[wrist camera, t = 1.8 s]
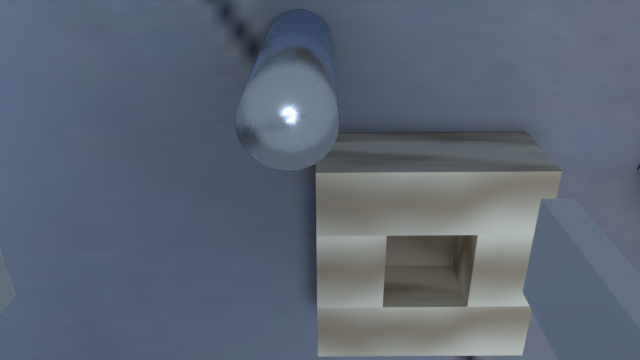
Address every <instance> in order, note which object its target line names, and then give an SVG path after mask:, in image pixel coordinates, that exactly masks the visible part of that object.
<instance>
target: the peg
mask: <svg viewBox="0 0 640 360" xmlns="http://www.w3.org/2000/svg"><path fill="white" fill-rule="evenodd" d="M236 131H237V134H238V137H239V140H240V142H241V144H242V146H243V147H244V149H245V150H246V151H247V152H248V154H249V155H250V156H251V157H253V158H254V159H255V160H256V161H258V162H259V163H261V164H263V165H265V166H267V167H269V168H273V169H276V170H282V171H296V170H301V169H305V168H308V167H310V166H312V165H314V164H316V163H317V162H319V161H320V160H322V159H323V158H324V157H325V156H326V155H327V154H328V153H329V151H330V150H331V149H332V147H333V145H334V143H335V141H336V138H337V135H338V131H339V116H338V105H337V95H336V84H335V73H334V63H333V52H332V42H331V35H330V32H329V29H328V27H327V25H326V24H325V22H324V21H323V20H322V19H321V18H320V17H319V16H317V15H316V14H314V13H312V12H310V11H307V10H300V9H297V10H290V11H287V12H285V13H283V14H281V15H280V16H278V17H277V18H276V19H275V20H274V22H273V23H272V24H271V26H270V28H269V31H268V33H267V36H266V38H265V40H264V43H263V45H262V48H261V50H260V53H259V55H258V58H257V60H256V63H255V65H254V68H253V70H252V73H251V75H250V78H249V80H248V82H247V85H246V87H245V90H244V92H243V95H242V97H241V100H240V102H239V105H238V108H237V111H236Z"/></svg>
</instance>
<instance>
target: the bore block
mask: <svg viewBox="0 0 640 360" xmlns="http://www.w3.org/2000/svg"><path fill="white" fill-rule="evenodd" d="M561 175H562V171H561V169H560V168H559V167H558V166H557V165H556V164H555V163H554V162H553V161H552V160H551V159H550V157H549V156H548V155H547V154H546V153H545V152H544V151H543V150H542V149H541V148H540V147H539V145H538V144H537V143H536V142H535V141H534V140H533V139H532V138H531V137H530V136H529V135H528V133H527V132H449V133H338V135H337V138H336V141H335V143H334V145H333V147H332V149H331V150H330V151H329V153H328V154H327V155H326V156H325V157H324V158H323V159H322V160H320V161H319V162H317V163H316V243H317V334H318V357H319V356H481V355H522V354H523V349H524V345H525V340H526V336H527V331H528V326H529V322H530V317H531V313H532V310H531V308H530V306H529V304H528V302H527V300H526V298H525V296H524V294H523V287H524V282H525V277H526V272H527V267H528V262H529V257H530V252H531V247H532V242H533V237H534V232H535V227H536V222H537V217H538V212H539V207H540V203H541V199H556V198H557V193H558V188H559V184H560V179H561Z"/></svg>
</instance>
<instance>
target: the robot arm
mask: <svg viewBox="0 0 640 360" xmlns="http://www.w3.org/2000/svg"><path fill="white" fill-rule="evenodd" d="M523 294H524V296H525V298H526V300H527V302H528V304H529V306H530V308H531V310H532V311H533V313H534V315H535V317H536V319H537V321H538V323H539V325H540V327H541V329H542V331H543V333H544V334H545V336H546V338H547V340H548V342H549V344H550V346H551V348H552V350H553V352H554V354H555V356H556V357H557V359H558V360H640V275H639V273H638V272H637V271H636V270H635V269H634V268H633V266H632V265H631V264H630V263H629V262H628V261H627V259H626V258H625V257H624V256H623V255H622V254H621V253H620V251H619V250H618V249H617V248H616V247H615V246H614V244H613V243H612V242H611V241H610V240H609V239H608V237H607V236H606V235H605V234H604V233H603V232H602V231H601V229H600V228H599V227H598V226H597V225H596V224H595V222H594V221H593V220H592V219H591V218H590V217H589V215H588V214H587V213H586V212H585V211H584V210H583V208H582V207H581V206H580V205H579V204H578V203H577V202H576V200H575V199H574V198H573V199H541V203H540V207H539V212H538V217H537V222H536V227H535V232H534V237H533V242H532V247H531V252H530V257H529V262H528V267H527V272H526V277H525V282H524V287H523ZM15 296H16V294H15V291H14V288H13V285H12V282H11V279H10V275H9V272H8V269H7V266H6V263H5V260H4V257H3V254H2V251H1V248H0V315H1V314H2V313H3V311H4V310H5V309H6V308H7V306H8V305H9V304H10V302H11V301H12V300H13V299H14V297H15Z"/></svg>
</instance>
